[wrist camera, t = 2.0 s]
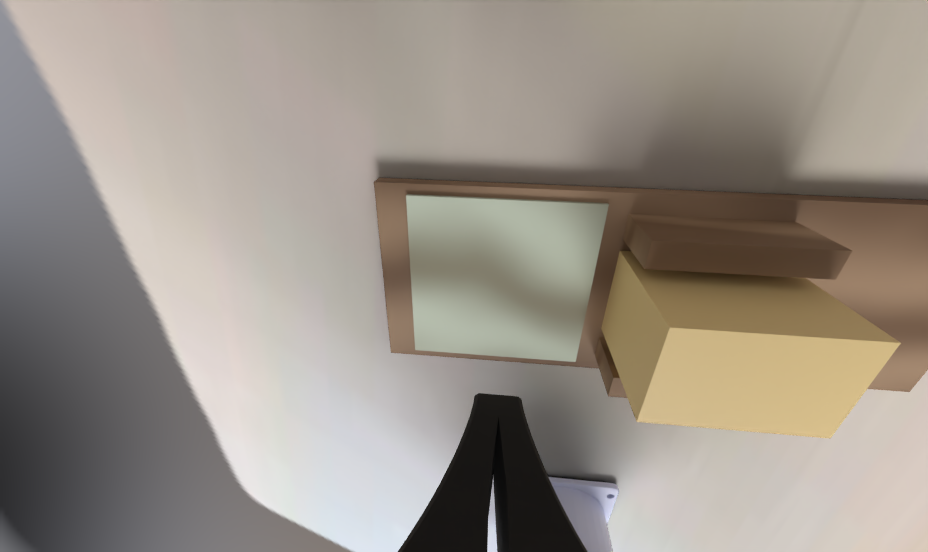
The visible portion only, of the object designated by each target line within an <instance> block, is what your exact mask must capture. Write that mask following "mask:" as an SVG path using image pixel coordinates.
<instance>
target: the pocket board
mask: <svg viewBox="0 0 928 552" xmlns="http://www.w3.org/2000/svg"><path fill="white" fill-rule="evenodd" d="M374 188H375V198H376V208H377V218H378V228H379V238H380V248H381V258H382V268H383V278H384V288H385V297H386V307H387V317H388V327H389V337H390V347H391V353H403V354H416V355H430V356H443V357H456V358H469V359H482V360H495V361H509V362H522V363H535V364H548V365H561V366H575V367H588V368H599V369H600V372H601V375H602V379H603V382H604V385H605V388H606V391H607V394H608V396H611V397H624V398H628V397H627V395H626V392H625V390H624V387H623V384H622V382H621V379H620V376H619V374H618V371H617V369H616V366H615V363H614V361H613V358H612V355H611V353H610V350H609V348H608V345H607V342H606V340H605V337H604V334H603V332H602V329H601V327H602V323H603V319H604V315H605V310H606V306H607V302H608V298H609V294H610V290H611V285H612V281H613V277H614V273H615V269H616V265H617V261H618V256H619V252H620V251H632V253H633V254H634V255H635V257H636V258H637V260H638V261H639V262H640V264H641V265H642V267H643V268H644V269H653V270H671V271H689V272H707V273H725V274H742V275H760V276H778V277H796V278H806V279H808V280H809V281H811V282H812V283H814V284H815V285H817V286H818V287H820V288H821V289H822V290H824V291H825V292H827V293H828V294H830V295H831V296H833V297H834V298H836V299H837V300H839V301H840V302H842V303H843V304H844V305H846V306H847V307H849V308H850V309H852V310H853V311H855V312H856V313H858V314H859V315H861V316H862V317H863V318H865V319H866V320H868V321H869V322H871V323H872V324H874V325H875V326H877V327H878V328H880V329H881V330H883V331H884V332H885V333H887V334H888V335H890V336H891V337H893V338H894V339H896V340H897V341H899V342H900V343H901V344H900V345H899V346H898V348H897V349H896V350H895V352H894V353H893V354H892V356H891V357H890V358H889V360H888V361H887V363H886V364H885V365H884V367H883V368H882V369H881V371H880V372H879V373H878V375H877V376H876V377H875V379H874V380H873V381H872V383H871V384H870V386H869V387H868V388H867V389H878V390H891V391H904V392H910V391H911V389H912V388H913V387H914V386H915V385H916V383H917V382H918V381H919V380H920V378H921V377H922V376H923V375H924V374H925V372H926V371H927V370H928V200H912V199H888V198H863V197H839V196H814V195H790V194H765V193H741V192H716V191H692V190H668V189H643V188H619V187H594V186H570V185H545V184H521V183H496V182H472V181H448V180H423V179H399V178H378V179H377V180H376V181H375V182H374Z"/></svg>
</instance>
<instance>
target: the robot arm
mask: <svg viewBox="0 0 928 552" xmlns="http://www.w3.org/2000/svg"><path fill="white" fill-rule="evenodd" d="M493 477H494V496H495V514H496V533H497V551H498V552H613V549H612V545H611V540H610V536H609V532H608V527H607V524H608V521H609V518H610V515H611V513H612V510H613V507H614V504H615V502H616V499H617V496H618V494H619V489H618V486H617V485H616V484H614V483H606V482H596V481H586V480H575V479H565V478H555V477H548V475H547V473H546V471H545V468H544V466H543V464H542V461H541V459H540V456H539V454H538V451H537V449H536V446H535V444H534V441H533V438H532V436H531V433H530V430H529V427H528V424H527V420H526V417H525V414H524V410H523V405H522V400H521V399H520V398H519V397H516V396H504V395H492V394H480V393H478V394H477V395H475V398H474V403H473V407H472V411H471V414H470V417H469V421H468V423H467V426H466V429H465V431H464V434H463V436H462V439H461V441H460V443H459V446H458V448H457V450H456V453H455V455H454V457H453V459H452V461H451V463H450V465H449V467H448V469H447V471H446V473H445V475H444V477H443V479H442V481H441V483H440V485H439V486H438V488H437V490H436V492H435V494H434V495H433V497H432V499H431V501H430V502H429V504H428V506H427V507H426V509H425V511H424V512H423V514H422V516H421V517H420V519H419V520H418V522H417V524H416V525H415V527H414V528H413V530H412V531H411V533H410V534H409V536H408V538H407V539H406V541H405V542H404V544H403V545H402V546H401V548H400V549H399V551H398V552H487V537H488V514H489V506H490V497H491V489H492V480H493Z"/></svg>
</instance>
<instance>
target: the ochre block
mask: <svg viewBox="0 0 928 552" xmlns="http://www.w3.org/2000/svg"><path fill="white" fill-rule="evenodd" d="M601 329H602V332H603V334H604V337H605V340H606V342H607V345H608V348H609V350H610V353H611V355H612V358H613V361H614V363H615V366H616V369H617V371H618V374H619V376H620V379H621V382H622V384H623V387H624V390H625V392H626V395H627V397H628V400H629V403H630V405H631V408H632V411H633V413H634V416H635V418H636V421H637V422H644V423H656V424H668V425H679V426H691V427H703V428H715V429H726V430H738V431H750V432H761V433H773V434H785V435H796V436H808V437H820V438H831V437H832V436H833V434H834V433H835V432H836V430H837V429H838V427H839V426H840V425H841V423H842V422H843V421H844V419H845V418H846V417H847V415H848V414H849V413H850V411H851V410H852V409H853V407H854V406H855V404H856V403H857V402H858V400H859V399H860V398H861V396H862V395H863V394H864V392H865V391H866V390H867V388H868V387H869V386H870V384H871V383H872V381H873V380H874V379H875V377H876V376H877V375H878V373H879V372H880V371H881V369H882V368H883V367H884V365H885V364H886V363H887V361H888V360H889V358H890V357H891V356H892V354H893V353H894V352H895V350H896V349H897V348H898V346H899V345H900V344H901V343H900V342H899V341H897V340H896V339H894V338H893V337H891V336H890V335H888V334H887V333H885V332H884V331H883V330H881V329H880V328H878V327H877V326H875V325H874V324H872V323H871V322H869V321H868V320H866V319H865V318H863V317H862V316H861V315H859V314H858V313H856V312H855V311H853V310H852V309H850V308H849V307H847V306H846V305H844V304H843V303H842V302H840V301H839V300H837V299H836V298H834V297H833V296H831V295H830V294H828V293H827V292H825V291H824V290H822V289H821V288H820V287H818V286H817V285H815V284H814V283H812V282H811V281H809V280H808V279H806V278H796V277H778V276H760V275H742V274H725V273H707V272H689V271H671V270H653V269H644V268H643V267H642V265H641V264H640V262H639V261H638V260H637V258H636V257H635V255H634V254H633V253H632V251H620V252H619V256H618V261H617V265H616V269H615V273H614V277H613V281H612V285H611V290H610V294H609V298H608V302H607V306H606V310H605V315H604V319H603V323H602V327H601Z"/></svg>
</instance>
